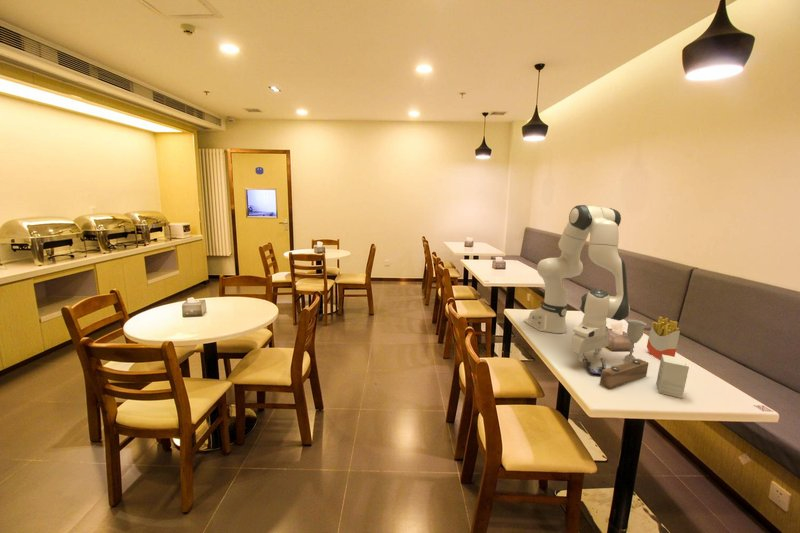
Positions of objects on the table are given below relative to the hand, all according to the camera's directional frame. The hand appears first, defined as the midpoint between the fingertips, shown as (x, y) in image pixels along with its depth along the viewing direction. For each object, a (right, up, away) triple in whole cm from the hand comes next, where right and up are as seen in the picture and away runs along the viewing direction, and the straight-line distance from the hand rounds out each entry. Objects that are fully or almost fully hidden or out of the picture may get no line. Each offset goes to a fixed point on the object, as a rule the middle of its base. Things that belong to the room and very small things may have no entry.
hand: (588, 358), depth 152 cm
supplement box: (+20, -7, -19) cm, 28 cm away
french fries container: (+37, -2, +10) cm, 39 cm away
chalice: (+21, -2, +4) cm, 21 cm away
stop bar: (+7, -5, -13) cm, 15 cm away
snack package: (0, -4, -6) cm, 7 cm away
